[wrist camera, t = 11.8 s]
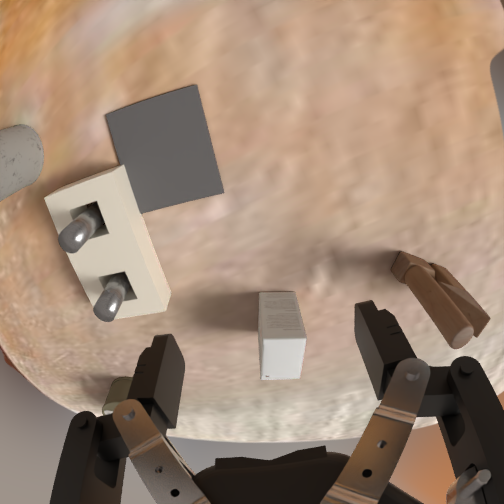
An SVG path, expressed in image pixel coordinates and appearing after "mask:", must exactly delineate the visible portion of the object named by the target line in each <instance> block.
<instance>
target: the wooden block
mask: <svg viewBox="0 0 504 504" xmlns="http://www.w3.org/2000/svg"><path fill="white" fill-rule="evenodd" d="M391 271H392V273H393V274H394V275H395V277H396V278H397V280H398V281H399V282H401V283H405V284H407V286H408V287H409V288H410V290H411V291H412V292H413V294H414V295H415V296H416V298H417V299H418V301H419V302H420V303H421V305H422V306H423V308H424V309H425V310H426V312H427V313H428V315H429V316H430V318H431V319H432V320H433V322H434V323H435V325H436V326H437V328H438V329H439V331H440V332H441V334H442V335H443V337H444V338H445V340H446V341H447V343H448V344H449V346H450V347H451V348H453V349H459V348H461V347H463V346H464V345H466V344H467V343H468V342H469V341H470V339H471V338H472V336H473V335H474V336H475V337H478V336H479V335H480V333H481V332H482V330H483V329H484V328H485V326H486V325H487V323H488V322H489V320H490V317H489V316H488V314H487V313H486V312H485V311H484V310H483V309H482V307H481V306H480V305H479V304H478V303H477V302H476V301H475V299H474V298H473V297H472V296H471V295H470V294H469V293H468V292H467V291H466V290H465V288H464V287H463V286H462V285H461V284H460V283H459V282H458V281H457V280H456V279H455V278H454V277H453V276H452V274H451V273H450V272H449V271H448V270H447V269H446V268H444V267H441V266H439V265H436V264H432V265H431V266H430V265H429V264H428V263H427V262H426V261H425V260H423V259H421V258H418V257H415V256H413V255H410V254H408V253H405V252H402V251H401V252H400V253H399V255H398V257H397V259H396V261H395V263H394V264H393V266H392V268H391Z"/></svg>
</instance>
